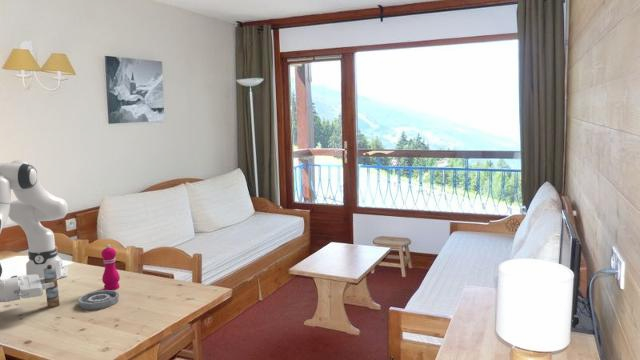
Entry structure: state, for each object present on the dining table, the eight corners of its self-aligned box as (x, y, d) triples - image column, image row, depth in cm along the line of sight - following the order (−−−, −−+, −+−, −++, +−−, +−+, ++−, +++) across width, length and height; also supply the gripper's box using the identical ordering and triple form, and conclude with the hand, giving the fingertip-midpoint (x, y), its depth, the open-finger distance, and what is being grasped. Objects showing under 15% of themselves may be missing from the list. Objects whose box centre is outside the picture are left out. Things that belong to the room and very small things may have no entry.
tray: (83, 298, 215) (83, 292, 215) (121, 294, 218) (121, 288, 218) (75, 311, 201) (74, 305, 200) (115, 307, 204) (115, 301, 203)
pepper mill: (114, 291, 223) (110, 246, 220) (99, 290, 224) (95, 246, 221) (123, 285, 230) (120, 242, 227) (109, 285, 231) (105, 242, 228)
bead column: (49, 304, 210) (44, 263, 207) (60, 302, 211) (56, 262, 208) (46, 308, 205) (41, 266, 203) (57, 306, 206) (53, 265, 204)
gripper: (14, 288, 191) (55, 281, 198) (12, 274, 208) (50, 268, 215) (16, 304, 191) (57, 296, 199) (13, 289, 209) (51, 282, 216)
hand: (53, 281), depth 207 cm, fingers closed on bead column, 4 cm apart
